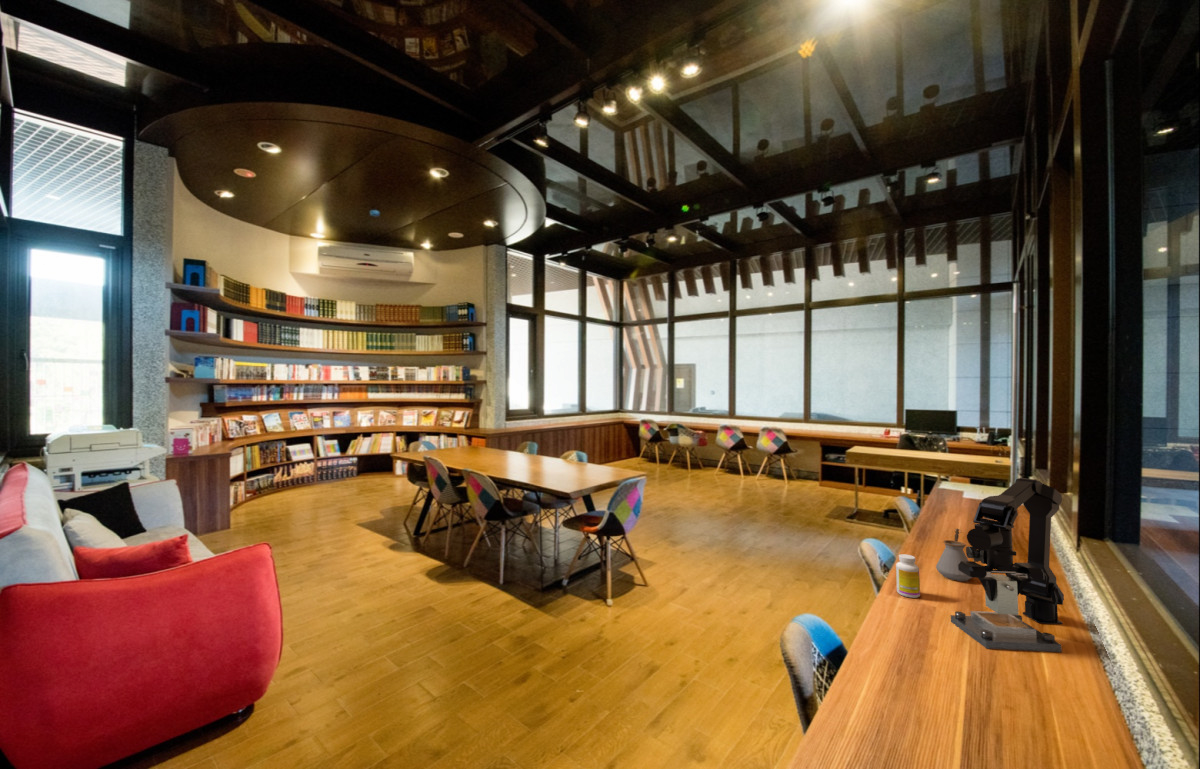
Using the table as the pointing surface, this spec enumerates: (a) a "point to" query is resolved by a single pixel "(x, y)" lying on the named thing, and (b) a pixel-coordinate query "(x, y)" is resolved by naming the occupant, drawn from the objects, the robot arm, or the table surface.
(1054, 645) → the square hole base plate
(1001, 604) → the brushed metal square peg
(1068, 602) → the table surface
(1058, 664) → the table surface
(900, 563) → the supplement bottle
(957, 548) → the coffee pot
